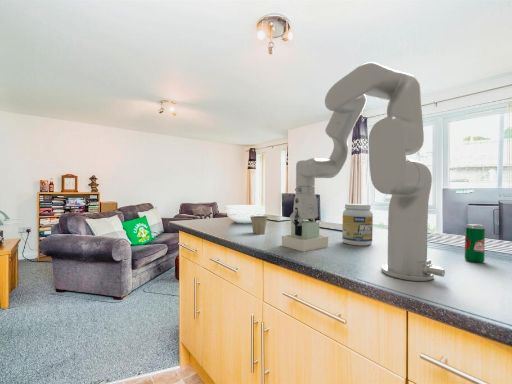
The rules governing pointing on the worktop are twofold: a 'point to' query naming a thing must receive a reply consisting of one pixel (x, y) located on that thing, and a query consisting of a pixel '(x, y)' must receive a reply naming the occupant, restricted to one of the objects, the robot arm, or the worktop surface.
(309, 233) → the block
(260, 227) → the flower pot
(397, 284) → the worktop surface
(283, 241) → the tray
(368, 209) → the supplement tub
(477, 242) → the soda can
